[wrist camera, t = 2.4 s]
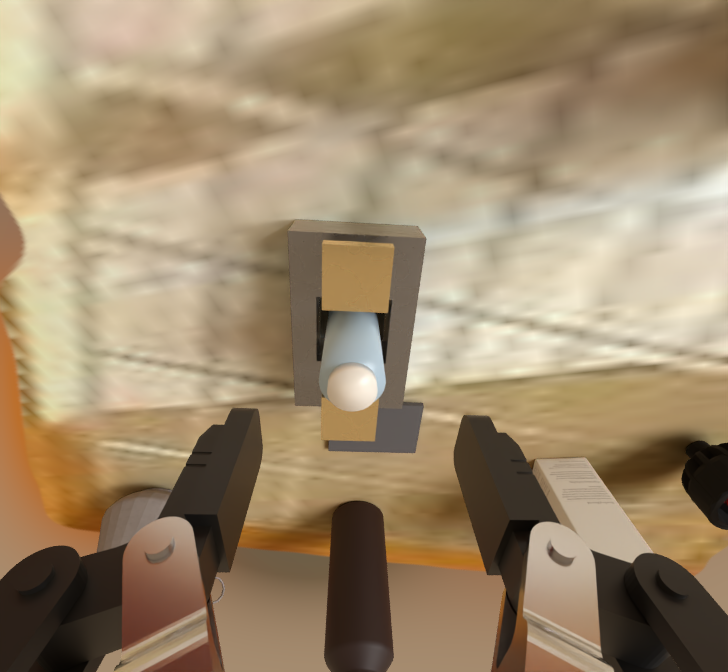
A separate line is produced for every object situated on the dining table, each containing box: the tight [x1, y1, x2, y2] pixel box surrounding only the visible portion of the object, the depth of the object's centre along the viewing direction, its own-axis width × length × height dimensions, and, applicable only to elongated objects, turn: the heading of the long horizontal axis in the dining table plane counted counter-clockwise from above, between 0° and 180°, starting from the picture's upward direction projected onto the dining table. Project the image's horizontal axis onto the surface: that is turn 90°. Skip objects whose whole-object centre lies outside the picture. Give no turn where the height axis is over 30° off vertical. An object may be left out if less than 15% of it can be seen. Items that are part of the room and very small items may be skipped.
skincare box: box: [532, 457, 653, 563], centre depth 38 cm, size 8×7×16 cm
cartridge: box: [319, 311, 386, 411], centre depth 28 cm, size 4×4×12 cm
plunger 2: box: [321, 394, 379, 441], centre depth 31 cm, size 4×4×5 cm
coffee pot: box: [97, 488, 225, 603], centre depth 38 cm, size 21×12×15 cm, turn 124°
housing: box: [288, 219, 426, 409], centre depth 32 cm, size 16×10×4 cm, turn 177°
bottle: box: [324, 501, 394, 672], centre depth 39 cm, size 7×7×20 cm
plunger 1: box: [322, 240, 394, 313], centre depth 26 cm, size 4×4×5 cm
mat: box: [329, 402, 423, 453], centre depth 40 cm, size 7×10×1 cm
